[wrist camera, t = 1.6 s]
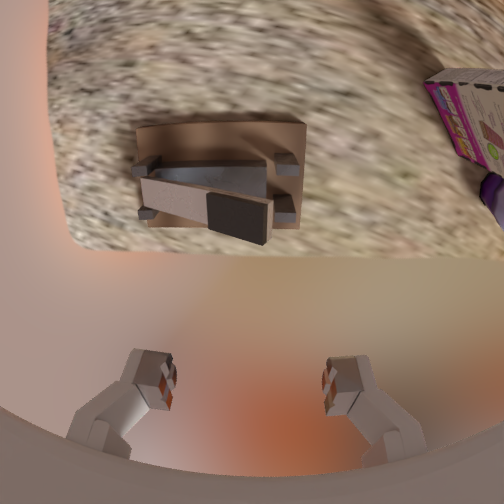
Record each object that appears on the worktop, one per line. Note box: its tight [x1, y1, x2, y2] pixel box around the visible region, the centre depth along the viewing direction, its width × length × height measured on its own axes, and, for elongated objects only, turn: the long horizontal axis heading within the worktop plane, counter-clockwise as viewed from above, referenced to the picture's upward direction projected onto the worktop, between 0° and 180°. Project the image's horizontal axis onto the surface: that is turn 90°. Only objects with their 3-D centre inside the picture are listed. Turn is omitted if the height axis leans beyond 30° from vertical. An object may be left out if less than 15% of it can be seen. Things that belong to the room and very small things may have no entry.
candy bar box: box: [423, 68, 504, 178], centre depth 18 cm, size 11×5×16 cm, turn 40°
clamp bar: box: [140, 176, 273, 246], centre depth 24 cm, size 14×3×1 cm, turn 90°
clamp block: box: [131, 153, 300, 223], centre depth 28 cm, size 16×6×5 cm, turn 90°
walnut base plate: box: [136, 121, 307, 229], centre depth 31 cm, size 18×12×2 cm, turn 90°
